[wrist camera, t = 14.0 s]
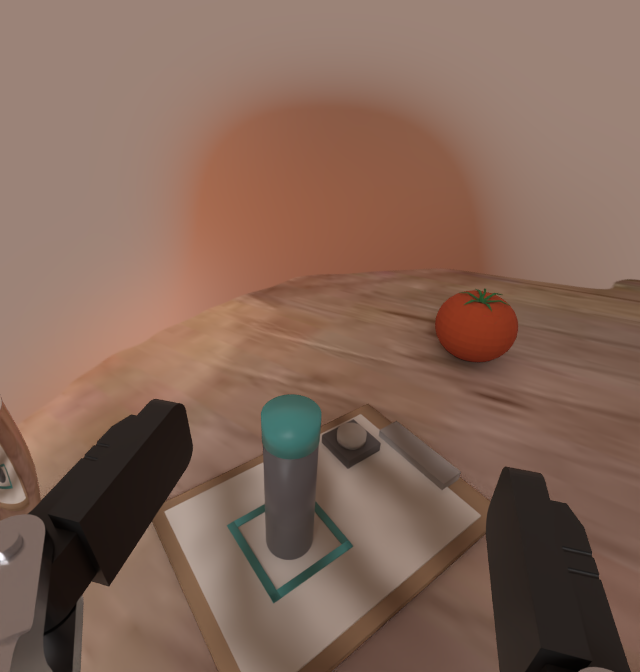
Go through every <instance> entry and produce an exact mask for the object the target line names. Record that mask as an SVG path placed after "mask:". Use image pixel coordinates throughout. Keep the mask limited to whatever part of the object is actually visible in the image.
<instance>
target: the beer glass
mask: <svg viewBox="0 0 640 672" xmlns="http://www.w3.org/2000/svg"><path fill="white" fill-rule="evenodd" d="M40 501H41V496H40V489H39V482H38V478H37V473H36V469H35V465H34V462H33V459H32V457H31V454H30V451H29V449H28V446H27V444H26V442H25V440H24V438H23V436H22V434H21V432H20V430H19V428H18V427H17V425H16V423H15V422H14V420H13V418H12V416H11V415H10V413H9V411H8V410H7V408H6V406H5V405H4V403H3V401H2V398H1V396H0V521H1V520H3V519H5V518H8V517H11V516H15V515H22V514H28V513H29V512H30V511H31V510H33V509H34V508H35V507H36V506H37V505H38V504H39V502H40Z"/></svg>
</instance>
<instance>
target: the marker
mask: <svg viewBox="0 0 640 672" xmlns="http://www.w3.org/2000/svg"><path fill="white" fill-rule="evenodd" d="M261 428H262V443H263V464H264V495H265V526H266V544H267V547H268V549H269V550H270V552H271V553H272V554H273V555H275V556H276V557H278V558H280V559H284V560H294V559H297V558H300V557H302V556H303V555H304V554H306V553H307V552H308V550H309V549H310V547H311V545H312V542H313V530H314V514H315V498H316V482H317V466H318V449H319V442H320V430H321V410H320V407H319V406H318V405H317V404H316V403H315V402H314V401H313V400H311V399H309V398H307V397H305V396H301V395H282V396H278V397H276V398H273V399H272V400H270V401H269V402H267V403H266V404H265V406H264V407H263V409H262V412H261Z"/></svg>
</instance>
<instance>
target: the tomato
mask: <svg viewBox="0 0 640 672" xmlns="http://www.w3.org/2000/svg"><path fill="white" fill-rule="evenodd" d="M475 290H477V289H475ZM496 294H498V293H493V294H491V293H487V292H486V289H484V292H483V291H480V290H477V291H465V292H461V293H458V294H456V295H454V296H452V297H450V298H449V299H448V300H447V301H446V302H445V303H444V304H443V305H442V306H441V308H440V309H439V311H438V314H437V317H436V323H435V328H436V334H437V336H438V338H439V341H440V343H441V344H442V345H443V346H444V348H445V349H446V350H447V351H448V352H449V353H451V354H452V355H454V356H455V357H457V358H459V359H463V360H466V361H471V362H486V361H490V360H493V359H495V358H498V357H500V356H501V355H503V354H504V353H505V352H507V351H508V350H509V349H510V347H511V346H512V345H513V343H514V341H515V339H516V337H517V332H518V321H517V318H516V315H515V312H514V310H513V309H512V308H511V306H510V305H509V304H508V303H507V302H506V301H504V300H503V299H502V298H500V297H498V296H496ZM498 295H502V294H498Z"/></svg>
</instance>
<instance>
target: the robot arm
mask: <svg viewBox="0 0 640 672" xmlns="http://www.w3.org/2000/svg"><path fill="white" fill-rule="evenodd" d="M192 451H193V444H192V439H191V434H190V429H189V424H188V419H187V414H186V409H185V407H184V405H183V404H180V403H175V402H170V401H164V400H159V399H153V400H151V401H150V402H149V403H148V404H147V405H146V406H145V407H144V408H143V409H142V411H141V412H140V413H139V414H138V415H137V416H136V415H130V416H128V417H127V418H125V419H123V420H122V421H120V422H118V423H117V424H115V425H113V426H112V427H111V428H110V429H109V430H108V431H107V432H106V433H105V434H104V435H103V436H102V437H101V438H100V439H99V440H98V441H97V444H96V446H95V445H94V446H93V447H92V448H91V449H90V450H89V451H88V452H87V453H86V454H85V457H84V458H83V459H82V458H81V459H80V460H79V461H78V463H77V464H76V465H75V466H74V467H73V468H72V469H71V470H70V471H69V472H68V473H67V474H66V475H65V476H64V477H63V478H62V479H61V480H60V481H59V483H58V484H57V485H56V486H55V487H54V488H53V489H52V490H51V491H50V492H49V493H48V494H47V495H46V496H45V497H44V498H43V499H42V500H41V501H40V502H39V504H38V505H37V506H36V507H35V508H34V509H33V510H31V511H30V512H29V513H28V514H22V515H15V516H11V517H8V518H5V519H3V520H1V521H0V672H80V670H81V648H82V626H83V604H84V602H83V595H82V594H83V593H84V591H85V590H86V588H87V587H88V586H89V584H90V583H91V581H92V582H96V583H99V584H102V585H106V586H110V584H111V583H112V581H113V580H114V578H115V577H116V575H117V574H118V572H119V571H120V569H121V568H122V566H123V564H124V563H125V561H126V560H127V558H128V557H129V555H130V554H131V552H132V551H133V549H134V548H135V546H136V545H137V543H138V542H139V540H140V539H141V537H142V535H143V534H144V532H145V531H146V529H147V528H148V526H149V525H150V523H151V522H152V520H153V519H154V517H155V516H156V514H157V513H158V511H159V510H160V508H161V506H162V505H163V503H164V502H165V500H166V499H167V497H168V496H169V494H170V493H171V491H172V490H173V488H174V487H175V485H176V484H177V482H178V481H179V479H180V477H181V476H182V474H183V473H184V471H185V470H186V468H187V467H188V465H189V462H190V460H191V456H192ZM486 541H487V551H488V561H489V570H490V580H491V590H492V600H493V610H494V620H495V630H496V640H497V650H498V660H499V670H500V672H631V671H630V668H629V665H628V662H627V659H626V656H625V653H624V650H623V647H622V644H621V641H620V638H619V634H618V631H617V628H616V625H615V622H614V619H613V616H612V613H611V610H610V607H609V603H608V600H607V597H606V594H605V591H604V588H603V585H602V582H601V580H599V572H598V569H597V566H596V563H595V560H594V558H592V551H591V548H590V544H589V541H588V538H587V535H586V532H585V529H584V527H583V525H582V524H581V523H580V521H579V520H578V518H577V517H576V516H575V514H574V513H573V512H572V510H571V509H570V508H569V506H568V505H567V504H566V503H562V502H557V501H552V500H550V498H549V494H548V490H547V487H546V483H545V479H544V477H543V475H542V474H541V473H536V472H531V471H526V470H521V469H515V468H510V467H504V468H503V470H502V472H501V475H500V478H499V480H498V483H497V486H496V488H495V491H494V494H493V497H492V499H491V502H490V505H489V508H488V512H487V518H486Z"/></svg>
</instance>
